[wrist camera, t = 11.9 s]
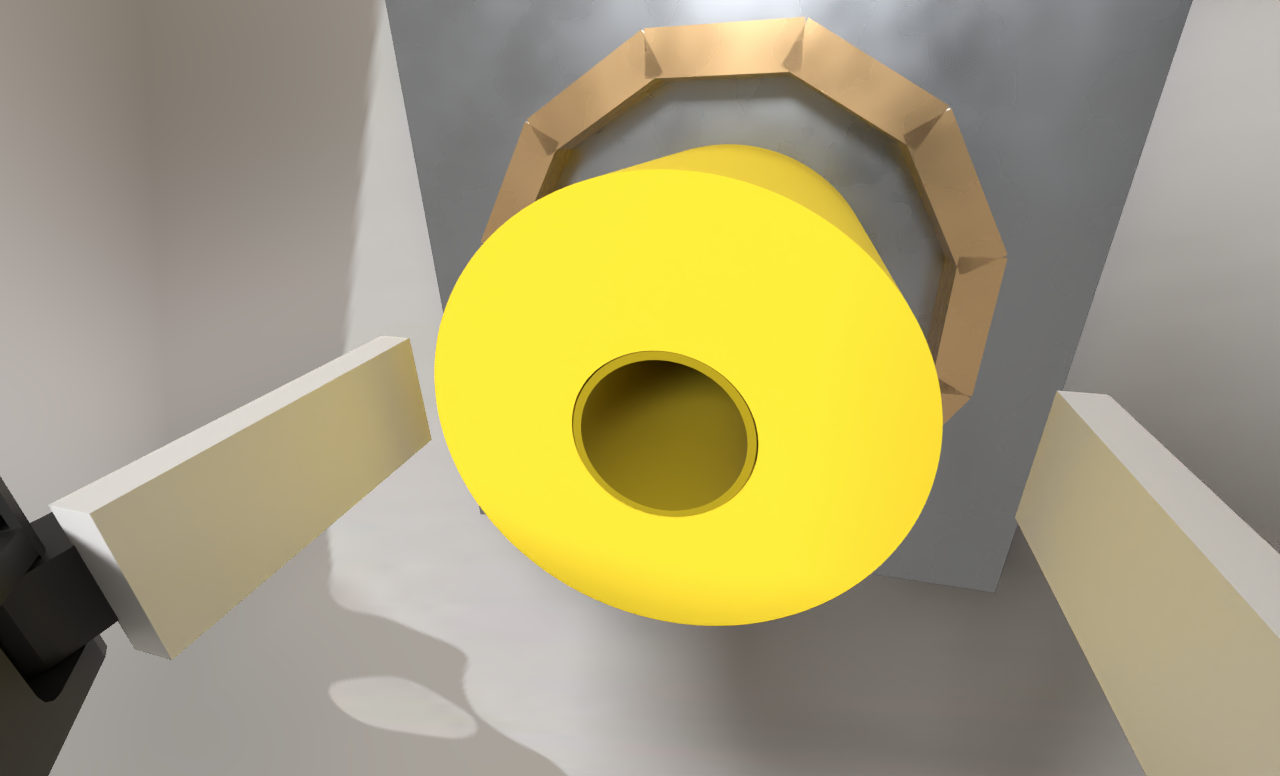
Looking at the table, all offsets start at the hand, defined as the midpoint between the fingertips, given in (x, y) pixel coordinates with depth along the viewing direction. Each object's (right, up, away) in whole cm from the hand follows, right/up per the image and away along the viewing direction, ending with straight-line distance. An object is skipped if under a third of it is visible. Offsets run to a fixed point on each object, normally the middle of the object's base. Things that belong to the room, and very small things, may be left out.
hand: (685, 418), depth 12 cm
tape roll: (+2, +4, +8) cm, 9 cm away
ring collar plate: (+2, +4, +8) cm, 10 cm away
